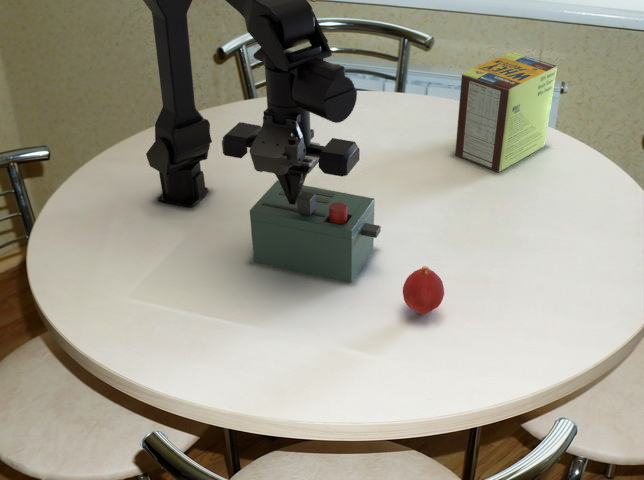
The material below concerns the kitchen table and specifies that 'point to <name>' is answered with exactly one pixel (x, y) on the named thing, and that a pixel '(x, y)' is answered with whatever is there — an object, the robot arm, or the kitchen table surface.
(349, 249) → the toaster
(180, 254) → the kitchen table surface
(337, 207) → the button
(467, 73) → the protein box
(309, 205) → the slider
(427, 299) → the onion
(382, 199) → the kitchen table surface
